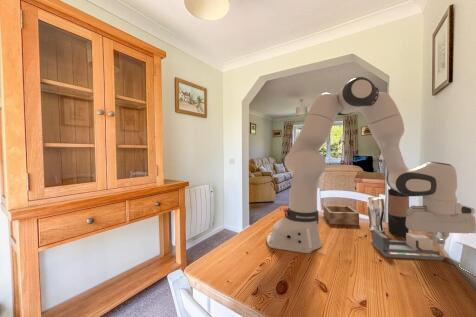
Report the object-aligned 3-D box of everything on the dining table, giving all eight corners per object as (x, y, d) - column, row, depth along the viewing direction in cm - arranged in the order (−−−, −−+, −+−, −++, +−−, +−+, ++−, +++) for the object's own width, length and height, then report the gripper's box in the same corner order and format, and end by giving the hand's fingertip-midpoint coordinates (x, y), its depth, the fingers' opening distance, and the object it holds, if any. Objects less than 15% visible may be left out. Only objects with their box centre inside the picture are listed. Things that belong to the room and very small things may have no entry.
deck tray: (330, 223, 106) (330, 212, 106) (323, 215, 120) (323, 205, 120) (359, 224, 104) (359, 213, 103) (348, 216, 117) (348, 205, 117)
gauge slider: (421, 254, 71) (421, 242, 70) (405, 244, 79) (405, 232, 79) (438, 255, 70) (438, 243, 69) (420, 244, 78) (420, 233, 78)
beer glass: (385, 233, 92) (385, 201, 92) (367, 230, 96) (367, 199, 95) (384, 228, 98) (384, 197, 98) (366, 226, 102) (366, 196, 101)
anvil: (383, 251, 74) (383, 238, 74) (372, 241, 82) (372, 229, 81) (389, 251, 73) (389, 238, 73) (377, 242, 81) (377, 229, 81)
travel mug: (413, 236, 88) (413, 191, 88) (393, 235, 90) (393, 191, 89) (402, 230, 96) (402, 188, 95) (384, 229, 97) (384, 188, 97)
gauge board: (385, 257, 72) (385, 250, 72) (370, 243, 83) (370, 237, 83) (443, 260, 69) (443, 254, 69) (420, 245, 80) (420, 240, 80)
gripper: (412, 207, 72) (412, 245, 73) (480, 209, 69) (479, 249, 69) (401, 203, 79) (401, 238, 79) (463, 204, 75) (462, 241, 76)
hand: (438, 243), depth 74 cm, fingers closed
